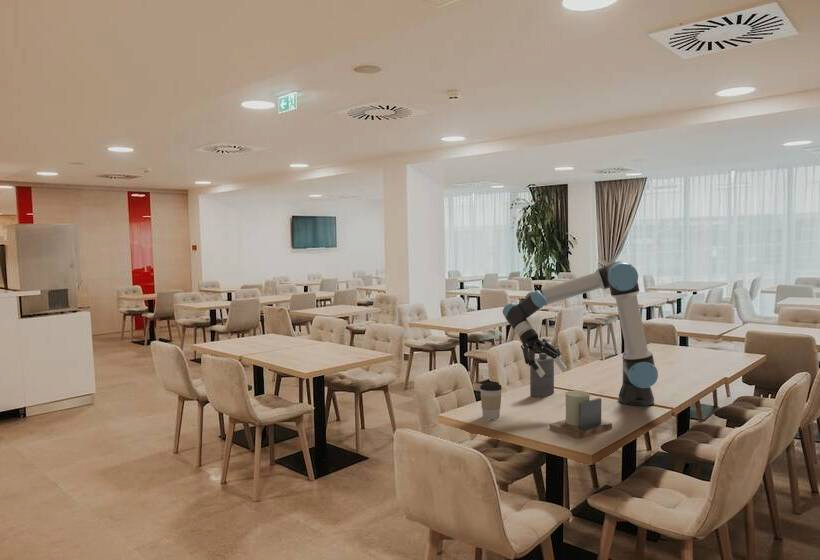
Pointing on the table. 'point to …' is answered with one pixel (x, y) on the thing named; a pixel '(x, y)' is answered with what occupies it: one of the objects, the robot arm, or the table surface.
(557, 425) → the shelf board
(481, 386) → the coffee cup
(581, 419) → the bookend
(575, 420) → the can
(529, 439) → the table surface
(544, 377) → the flask
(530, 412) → the table surface
